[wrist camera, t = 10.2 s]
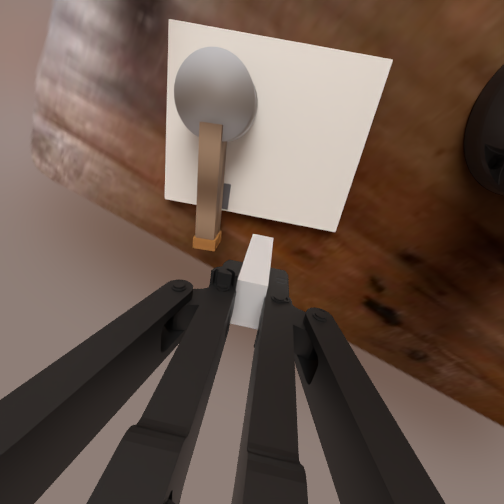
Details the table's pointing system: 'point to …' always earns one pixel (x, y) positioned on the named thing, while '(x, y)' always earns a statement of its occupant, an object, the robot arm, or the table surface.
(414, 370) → the table surface
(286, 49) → the base plate
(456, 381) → the table surface
